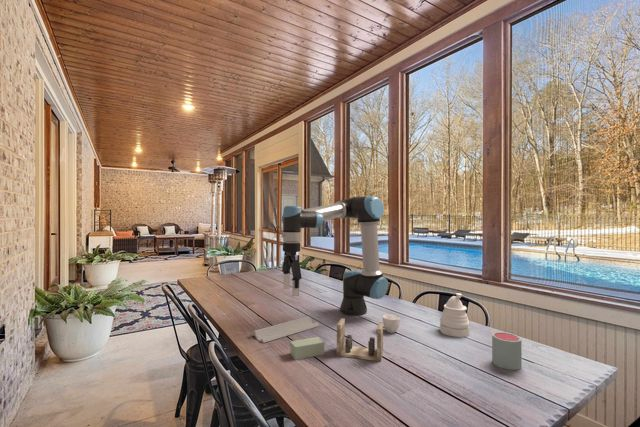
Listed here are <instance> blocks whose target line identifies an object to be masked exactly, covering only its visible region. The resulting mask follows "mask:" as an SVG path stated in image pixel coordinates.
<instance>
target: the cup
mask: <svg viewBox="0 0 640 427" xmlns="http://www.w3.org/2000/svg"><path fill="white" fill-rule="evenodd" d="M400 320H401V319H400V316H399V315H396V314H391V313H390V314H384V315H383V316H382V322H383V328H384V329H385V331H386V332H387V333H390V334H394V333H396V332H397V330H398V329H399V327H400V324H401V323H400V322H401V321H400Z"/></svg>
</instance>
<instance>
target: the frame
mask: <svg viewBox="0 0 640 427" xmlns="http://www.w3.org/2000/svg"><path fill="white" fill-rule="evenodd" d="M345 320H346V319H345V318H343V317H342V318H340V319H339V321H338V322H337V324H336V356H338V357H345V358H353V359H361V360H369V361H376V362H382V359H383V353H384V324H383V321H379V322H378V324H377V328H376V338H375V337H374V336H373V337H372V336H370V337H369V340H368V342H367V343H368V347H363V346H362V347H361V346H353V335H352V334H347V336H346V334H345V331H346V330H345V328H346V327H345V326H346V325H345V323H346V322H345ZM375 340H376V341H375ZM375 345H376V346H375Z"/></svg>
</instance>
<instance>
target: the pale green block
mask: <svg viewBox="0 0 640 427" xmlns="http://www.w3.org/2000/svg"><path fill="white" fill-rule="evenodd" d="M289 343H290V350H289V351H290V355H291V356H292V359H294V360H295V361H296V360H301V359H308V358H313V357H318V356H323V355H325V341H323V339H322V338H321V337H319V336H316V337H310V338H303V339H297V340H290V342H289Z"/></svg>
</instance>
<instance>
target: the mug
mask: <svg viewBox="0 0 640 427" xmlns="http://www.w3.org/2000/svg"><path fill="white" fill-rule="evenodd" d="M491 336H492V337H491V340H492V341H491V349H492V350H491V357H492V358H491V359H492V361H491V362H492V363H493V365H495V366H496V367H499V368H502V369H504V370H509V371H519V370H521V369H522V360H523V359H522V338H521V337H520V336H518V335H517V334H514V333H510V332H506V331H505V332H504V331H495V332H493V333H492V334H491Z"/></svg>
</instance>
